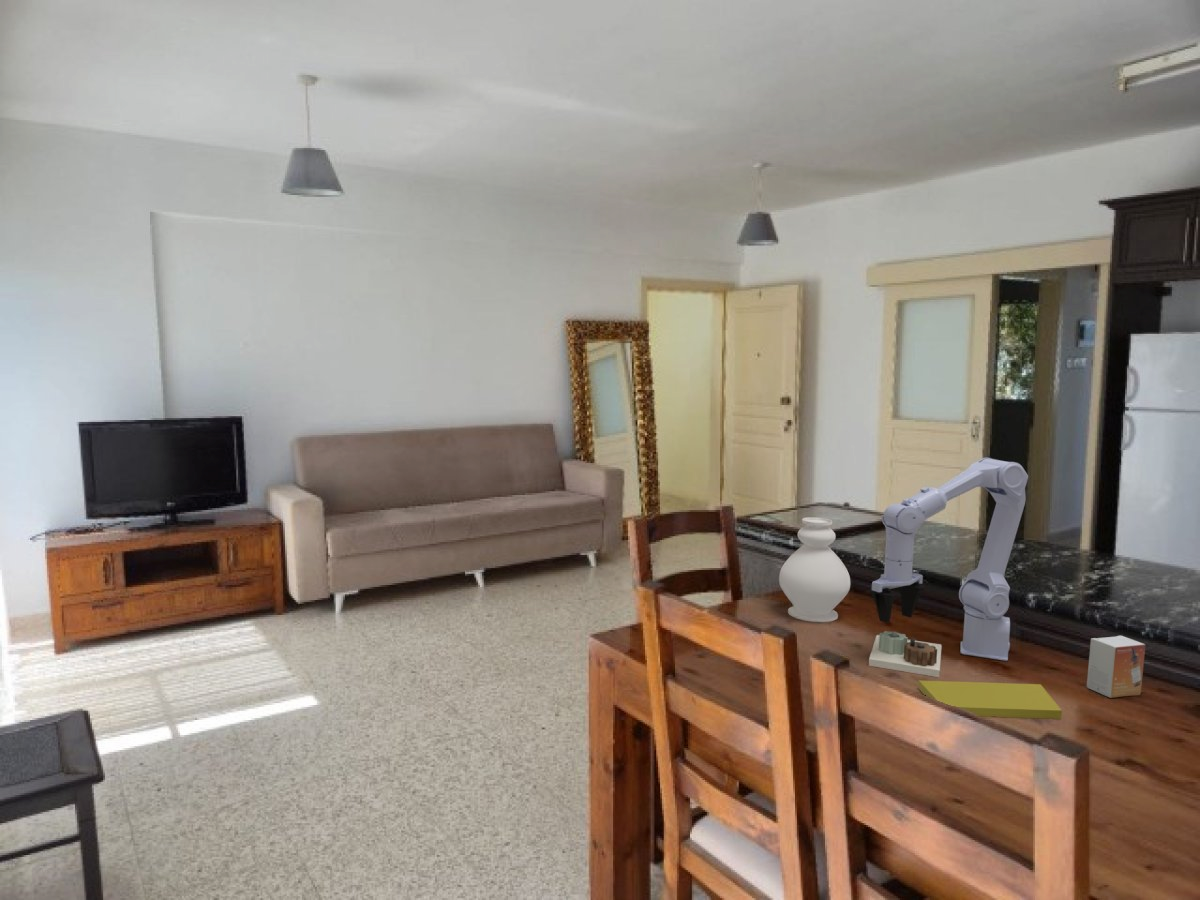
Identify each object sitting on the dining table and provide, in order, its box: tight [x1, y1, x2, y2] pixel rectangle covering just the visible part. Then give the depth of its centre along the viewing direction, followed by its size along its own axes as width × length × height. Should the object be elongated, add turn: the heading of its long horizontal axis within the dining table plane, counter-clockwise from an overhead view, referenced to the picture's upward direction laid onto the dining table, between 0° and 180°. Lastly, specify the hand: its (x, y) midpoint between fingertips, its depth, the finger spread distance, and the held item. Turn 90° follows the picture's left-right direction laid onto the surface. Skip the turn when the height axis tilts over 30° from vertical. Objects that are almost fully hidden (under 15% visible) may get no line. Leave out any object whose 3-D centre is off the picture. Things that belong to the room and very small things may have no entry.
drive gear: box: [904, 637, 937, 666], centre depth 167 cm, size 6×6×4 cm
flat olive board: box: [917, 679, 1063, 720], centre depth 150 cm, size 12×2×24 cm
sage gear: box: [879, 630, 909, 655], centre depth 173 cm, size 6×6×3 cm
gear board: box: [868, 633, 942, 678], centre depth 172 cm, size 14×17×6 cm
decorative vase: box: [778, 516, 851, 623], centre depth 201 cm, size 18×18×25 cm
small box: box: [1086, 635, 1146, 699], centre depth 156 cm, size 8×6×10 cm
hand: (895, 618), depth 172 cm, fingers open, 7 cm apart
